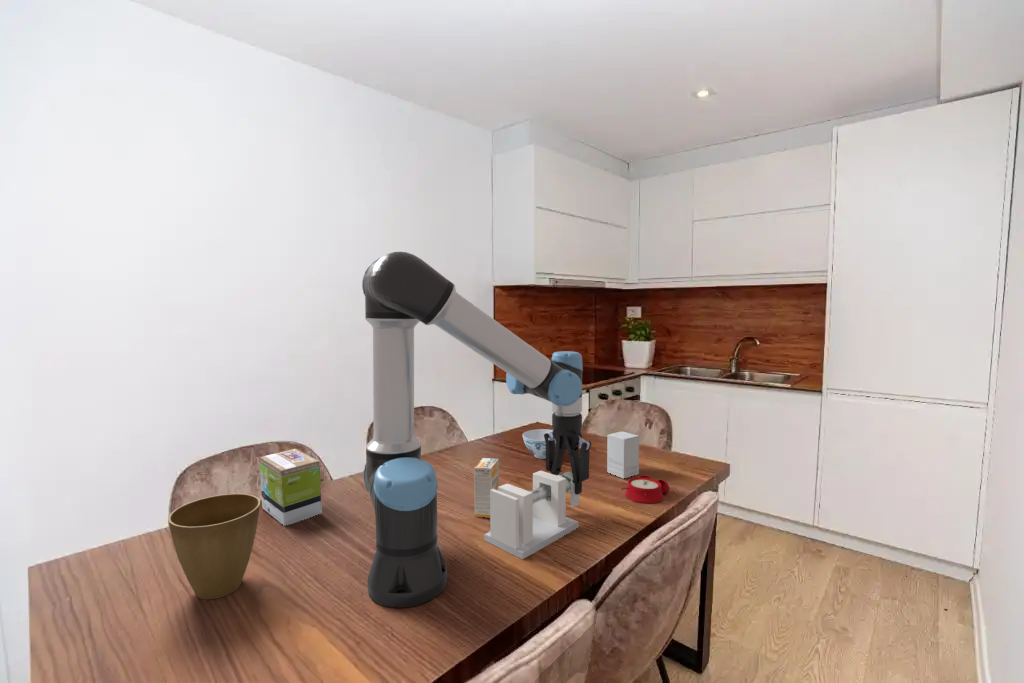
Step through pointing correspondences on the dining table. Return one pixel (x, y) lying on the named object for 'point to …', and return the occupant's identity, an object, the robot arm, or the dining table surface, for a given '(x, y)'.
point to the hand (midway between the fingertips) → (566, 502)
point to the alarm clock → (646, 489)
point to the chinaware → (536, 442)
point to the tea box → (290, 486)
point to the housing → (528, 516)
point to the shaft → (545, 490)
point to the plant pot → (215, 541)
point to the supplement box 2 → (623, 454)
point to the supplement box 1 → (485, 485)
